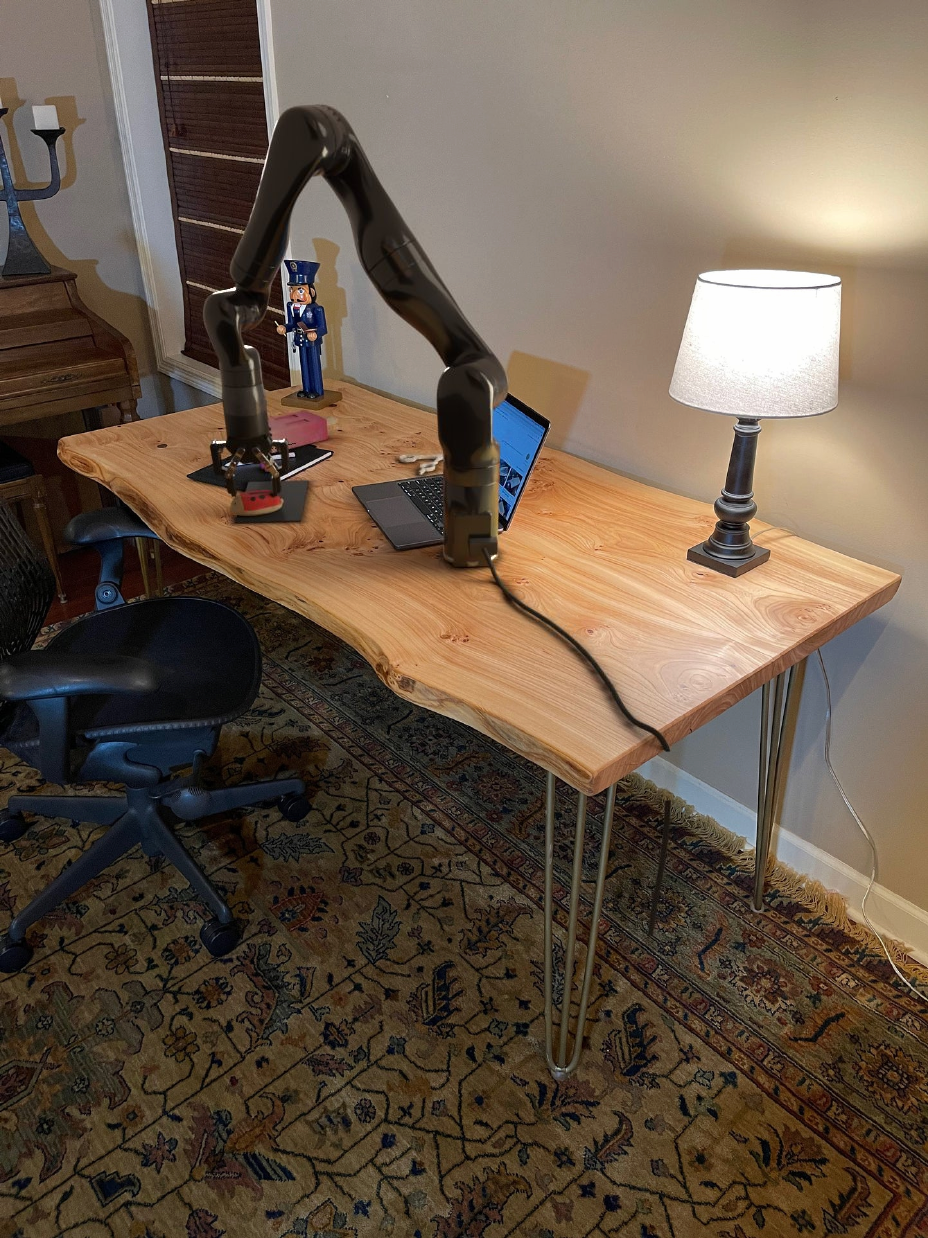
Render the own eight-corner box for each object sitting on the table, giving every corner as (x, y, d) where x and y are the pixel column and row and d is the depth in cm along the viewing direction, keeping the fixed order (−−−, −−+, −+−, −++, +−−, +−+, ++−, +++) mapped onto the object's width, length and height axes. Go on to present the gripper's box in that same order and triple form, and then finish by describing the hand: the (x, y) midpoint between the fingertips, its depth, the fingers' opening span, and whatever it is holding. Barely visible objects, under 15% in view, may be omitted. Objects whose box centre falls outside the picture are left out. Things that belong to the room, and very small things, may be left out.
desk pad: (300, 521, 166) (300, 520, 165) (234, 523, 165) (234, 521, 165) (308, 481, 183) (308, 480, 183) (248, 483, 182) (248, 481, 182)
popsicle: (346, 414, 206) (270, 432, 195) (347, 434, 209) (272, 453, 197) (323, 405, 212) (248, 422, 201) (325, 425, 215) (250, 443, 203)
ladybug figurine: (227, 508, 170) (225, 490, 168) (279, 500, 174) (277, 483, 172) (234, 521, 165) (232, 503, 163) (287, 513, 168) (286, 495, 166)
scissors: (391, 457, 193) (464, 438, 204) (391, 461, 193) (464, 442, 204) (420, 472, 186) (494, 451, 196) (420, 475, 186) (494, 454, 197)
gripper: (200, 414, 156) (212, 503, 164) (284, 413, 157) (292, 502, 165) (207, 402, 162) (219, 488, 170) (288, 400, 163) (296, 486, 171)
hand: (255, 494), depth 167 cm, fingers closed on ladybug figurine, 7 cm apart
